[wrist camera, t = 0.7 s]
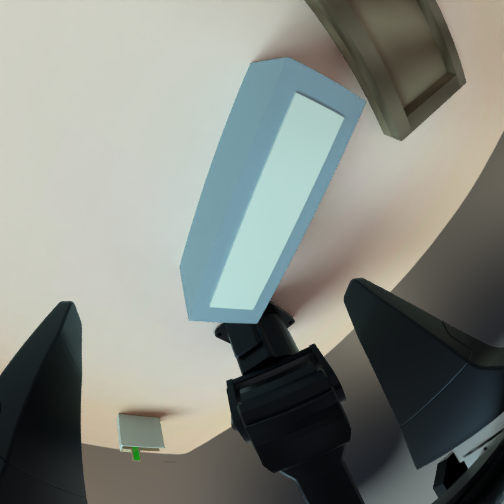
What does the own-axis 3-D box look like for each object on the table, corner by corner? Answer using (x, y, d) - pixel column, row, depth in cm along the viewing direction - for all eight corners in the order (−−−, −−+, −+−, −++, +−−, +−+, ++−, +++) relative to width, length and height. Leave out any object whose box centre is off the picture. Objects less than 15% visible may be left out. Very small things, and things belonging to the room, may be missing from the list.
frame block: (312, 91, 17) (368, 102, 12) (235, 272, 24) (257, 325, 19) (249, 63, 15) (289, 56, 10) (179, 265, 22) (189, 322, 17)
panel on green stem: (153, 423, 38) (161, 464, 32) (115, 419, 35) (120, 462, 29) (159, 415, 37) (167, 459, 31) (118, 411, 33) (123, 457, 27)
